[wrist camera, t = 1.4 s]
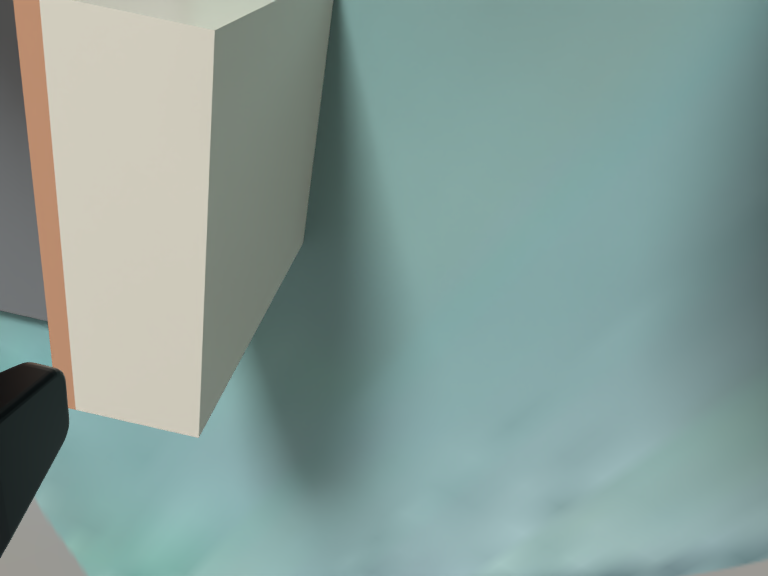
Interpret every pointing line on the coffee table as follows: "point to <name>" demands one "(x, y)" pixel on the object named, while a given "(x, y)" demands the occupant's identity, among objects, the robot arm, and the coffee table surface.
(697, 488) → the coffee table surface
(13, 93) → the mat
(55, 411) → the robot arm
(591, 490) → the coffee table surface
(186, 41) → the cream rectangular block
